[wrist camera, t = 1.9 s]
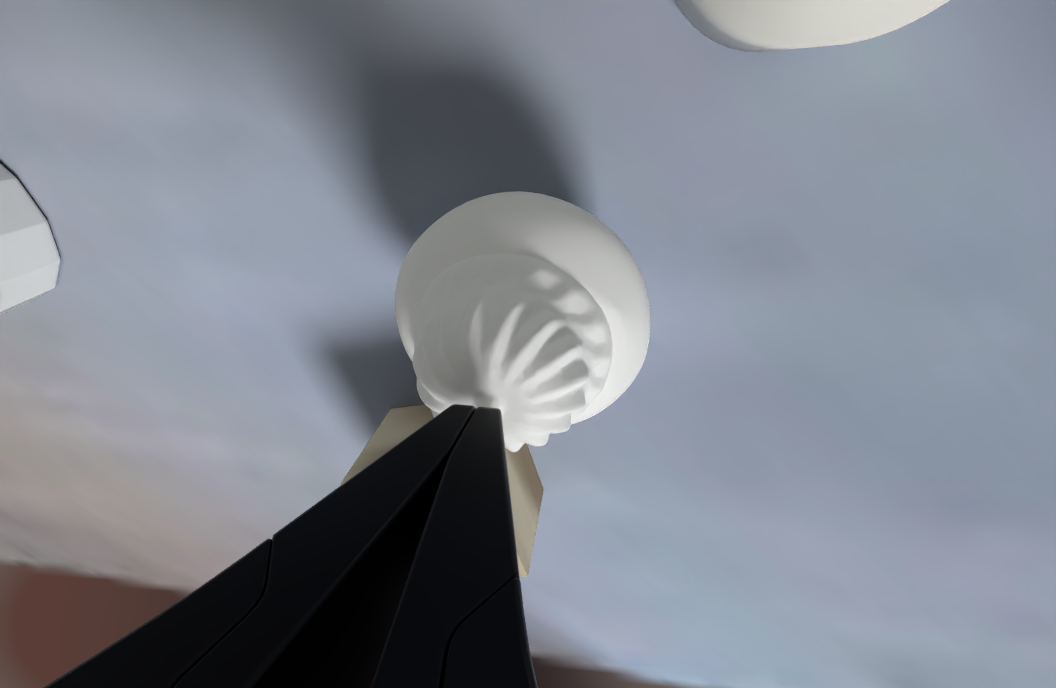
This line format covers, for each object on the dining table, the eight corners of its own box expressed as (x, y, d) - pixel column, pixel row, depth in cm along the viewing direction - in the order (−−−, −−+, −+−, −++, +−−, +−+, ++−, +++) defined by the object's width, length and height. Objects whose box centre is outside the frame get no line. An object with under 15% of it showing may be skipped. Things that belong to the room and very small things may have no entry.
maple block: (509, 391, 17) (481, 472, 14) (544, 486, 19) (527, 576, 16) (392, 406, 18) (340, 483, 15) (437, 493, 21) (402, 577, 17)
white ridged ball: (685, 214, 13) (742, 349, 7) (593, 379, 16) (576, 566, 10) (474, 125, 12) (338, 184, 6) (425, 312, 16) (305, 462, 10)
